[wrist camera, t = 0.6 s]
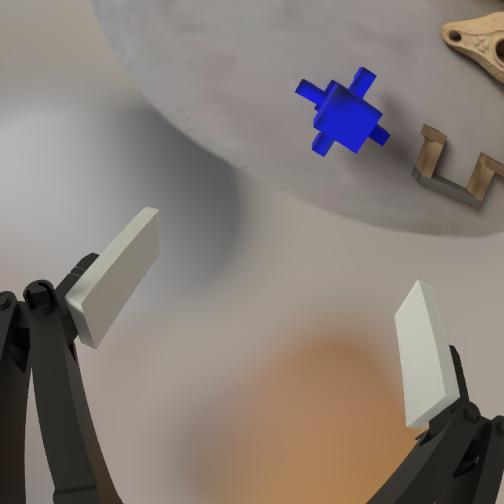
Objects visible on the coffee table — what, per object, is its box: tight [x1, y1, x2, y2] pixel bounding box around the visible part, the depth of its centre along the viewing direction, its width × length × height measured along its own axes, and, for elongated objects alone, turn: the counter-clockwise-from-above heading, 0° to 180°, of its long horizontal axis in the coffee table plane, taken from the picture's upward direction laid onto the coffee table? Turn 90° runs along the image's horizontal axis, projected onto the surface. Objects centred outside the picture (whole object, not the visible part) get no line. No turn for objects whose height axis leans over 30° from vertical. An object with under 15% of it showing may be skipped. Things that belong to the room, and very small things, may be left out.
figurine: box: [295, 67, 390, 157], centre depth 27 cm, size 8×8×12 cm
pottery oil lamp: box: [440, 12, 504, 83], centre depth 19 cm, size 9×12×7 cm
